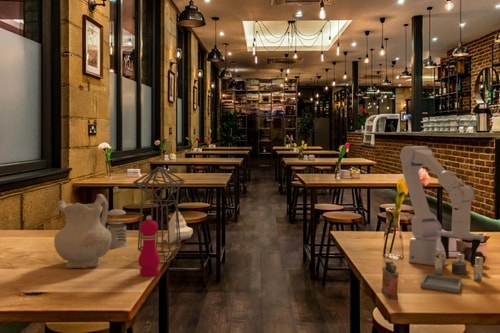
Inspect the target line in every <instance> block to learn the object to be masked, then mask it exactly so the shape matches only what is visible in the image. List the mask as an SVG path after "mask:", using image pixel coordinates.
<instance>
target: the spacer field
mask: <svg viewBox="0 0 500 333" xmlns="http://www.w3.org/2000/svg"><path fill="white" fill-rule="evenodd" d="M446 260H447V259H446V253H445V252H443V251H441V252H440V251H439V252H438V260H435V265H434V275H438V276H443V268H444V269H445V268H446V264H447V262H446ZM456 261H460V262H464V263H465V258H464V254H462V253H461V252H459V253H457V254H456ZM483 267H484V263H483V257H475V265H473V281H474V280H475V281H474V282H479V281H480V282H482V280H483V272H484V270H483V269H484V268H483Z"/></svg>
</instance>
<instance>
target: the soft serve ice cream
mask: <svg viewBox="0 0 500 333" xmlns="http://www.w3.org/2000/svg"><path fill="white" fill-rule="evenodd" d="M178 215H179V227H180V239H181V241H184V240H188V239H191V237H192V235H193V233H194V232H193V231H194V230H193V228H192V227H189V226H187V222H186V220H185V219H184V217H183V215H182V214H181V212H180V211H179V210H178ZM168 222H169V239H170V243H177V234H176V211H175V212H174V213H173V214H172V217H171V218H170V220H168ZM163 239H164V240H165V242H166V243H168V231H167V232H166V233H165V235H163ZM178 242H179V232H178Z"/></svg>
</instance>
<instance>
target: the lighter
mask: <svg viewBox="0 0 500 333" xmlns="http://www.w3.org/2000/svg"><path fill="white" fill-rule="evenodd" d="M384 262H385V266H382V267H381V271H382V278H381V279H382V280H381V282H382V284H381V286H382V287H381V293H382V295H383V296H384V297H385V298H387V299H389V300H390V301H391V300H392V301H396V300H397V301H398V300H399V295H398V289H399V288H398V283H399V281H398V280H399V278H398V277H399V272H398V271H397V266H396V264H394V261H389V260H385V261H384Z"/></svg>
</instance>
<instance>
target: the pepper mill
mask: <svg viewBox="0 0 500 333" xmlns="http://www.w3.org/2000/svg"><path fill="white" fill-rule="evenodd" d="M151 219H152V220H151ZM157 231H159V223H158V224H157V223H156V220H153V217H151V215H147V216H146V218H145V220H144V221H142V223H141V225H140V233H142V235H141V236H142V246H143V248H142V251H140V254H139V256H138V265H139V266H140V267H141V268H139V275H140V276H141V277H146V278H147V277H148V278H149V277H155V276H158V275H159V273H160V270H159V265H160V264H161V263H160V262H161V257H159V255H160V253H158V252H157V251H158V250H157V249H156V244H155V242H156V238H157V237H156V236H157V234H156V232H157Z"/></svg>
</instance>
